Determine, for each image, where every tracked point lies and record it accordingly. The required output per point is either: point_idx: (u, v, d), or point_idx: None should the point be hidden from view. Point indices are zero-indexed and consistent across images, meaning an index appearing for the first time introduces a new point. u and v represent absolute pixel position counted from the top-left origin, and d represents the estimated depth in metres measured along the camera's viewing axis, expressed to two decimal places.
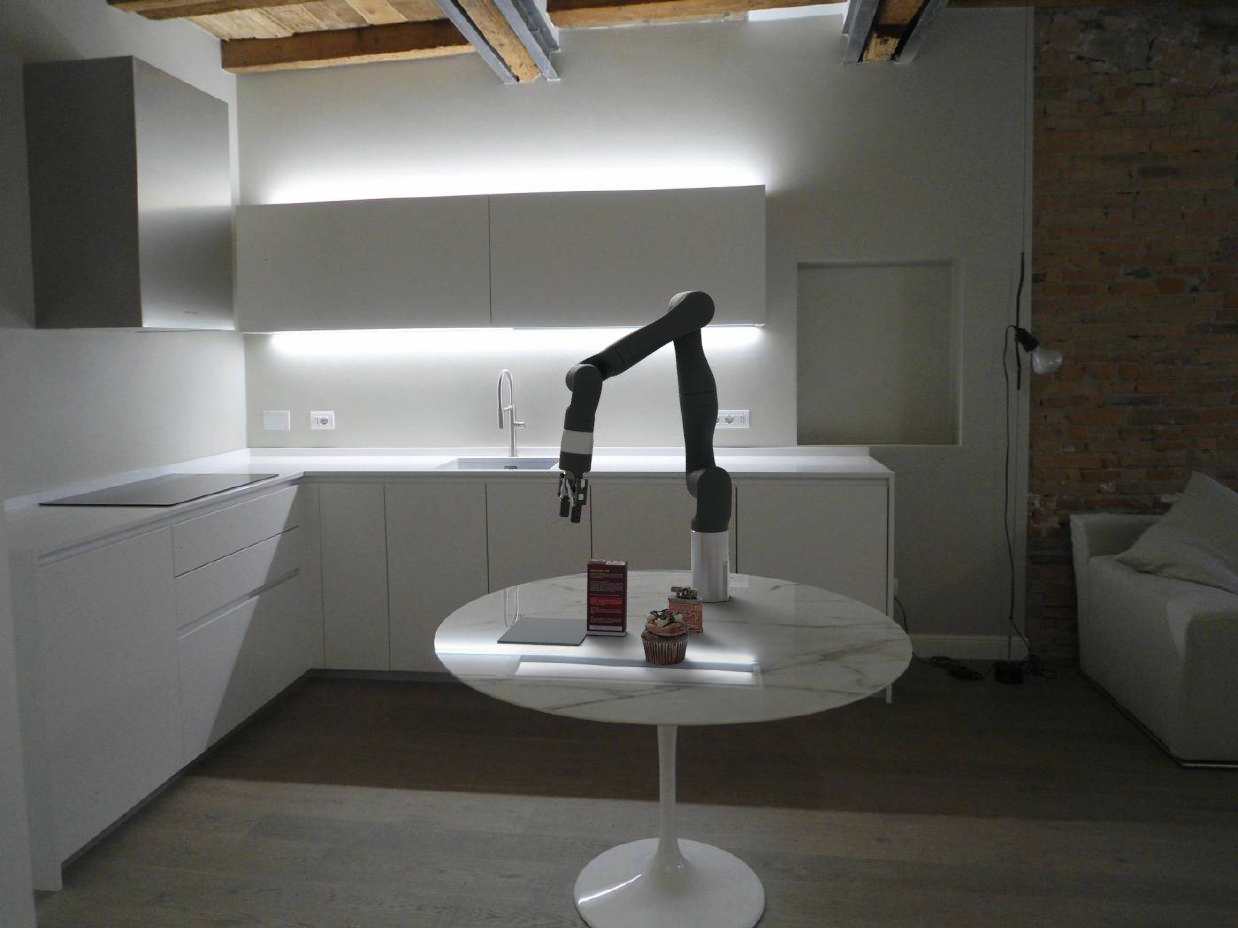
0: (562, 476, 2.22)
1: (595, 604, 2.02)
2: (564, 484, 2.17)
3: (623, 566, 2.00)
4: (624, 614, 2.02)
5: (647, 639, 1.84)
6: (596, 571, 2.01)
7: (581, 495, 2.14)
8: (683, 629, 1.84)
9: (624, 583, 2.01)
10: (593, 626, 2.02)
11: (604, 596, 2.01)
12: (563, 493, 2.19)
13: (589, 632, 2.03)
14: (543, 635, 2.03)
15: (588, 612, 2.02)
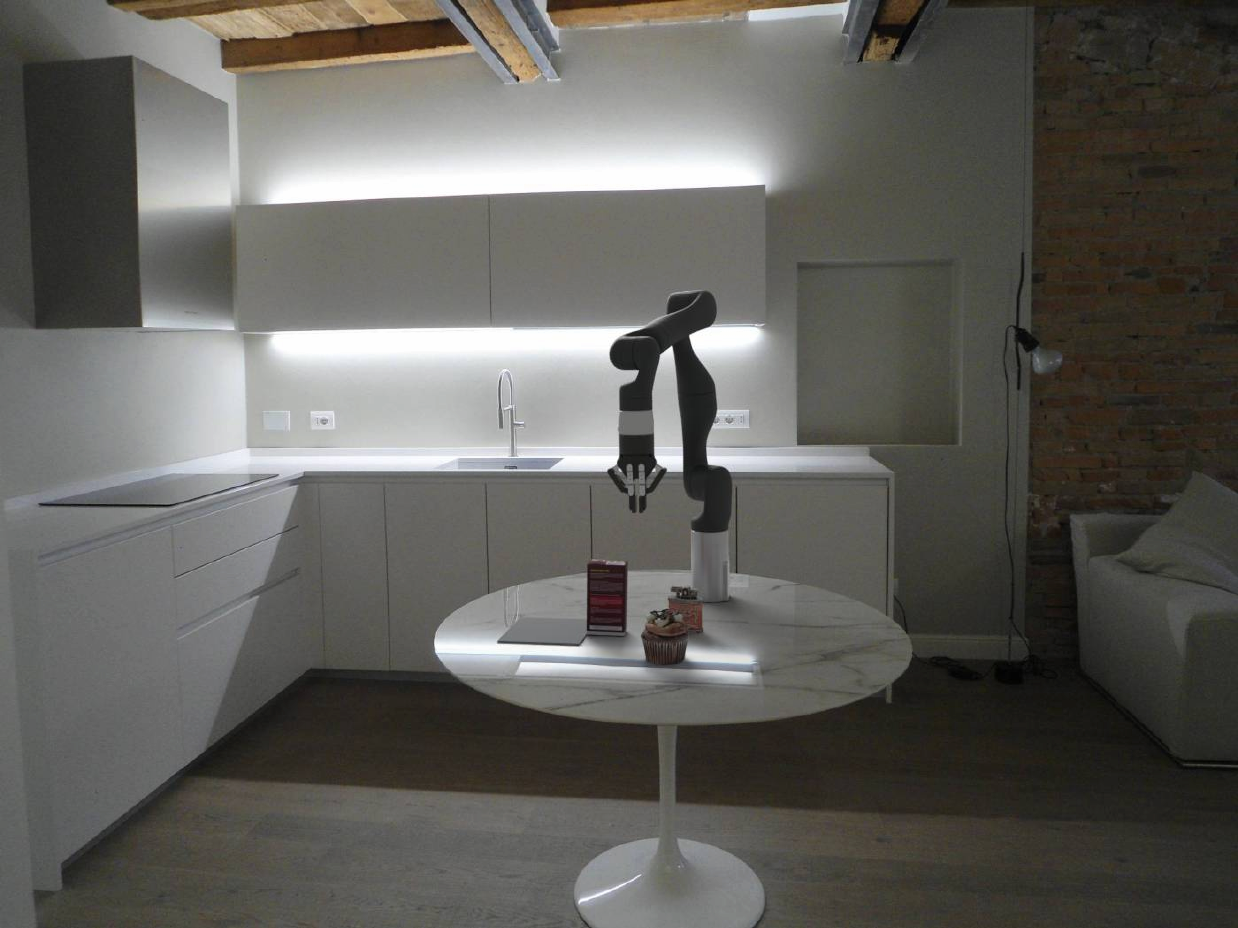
0: (613, 471, 1.99)
1: (595, 604, 2.02)
2: (632, 469, 1.98)
3: (623, 566, 2.00)
4: (624, 614, 2.02)
5: (647, 639, 1.84)
6: (596, 571, 2.01)
7: (646, 482, 2.00)
8: (683, 629, 1.84)
9: (624, 583, 2.01)
10: (593, 626, 2.02)
11: (604, 596, 2.01)
12: (633, 483, 1.98)
13: (589, 632, 2.03)
14: (543, 635, 2.03)
15: (588, 612, 2.02)
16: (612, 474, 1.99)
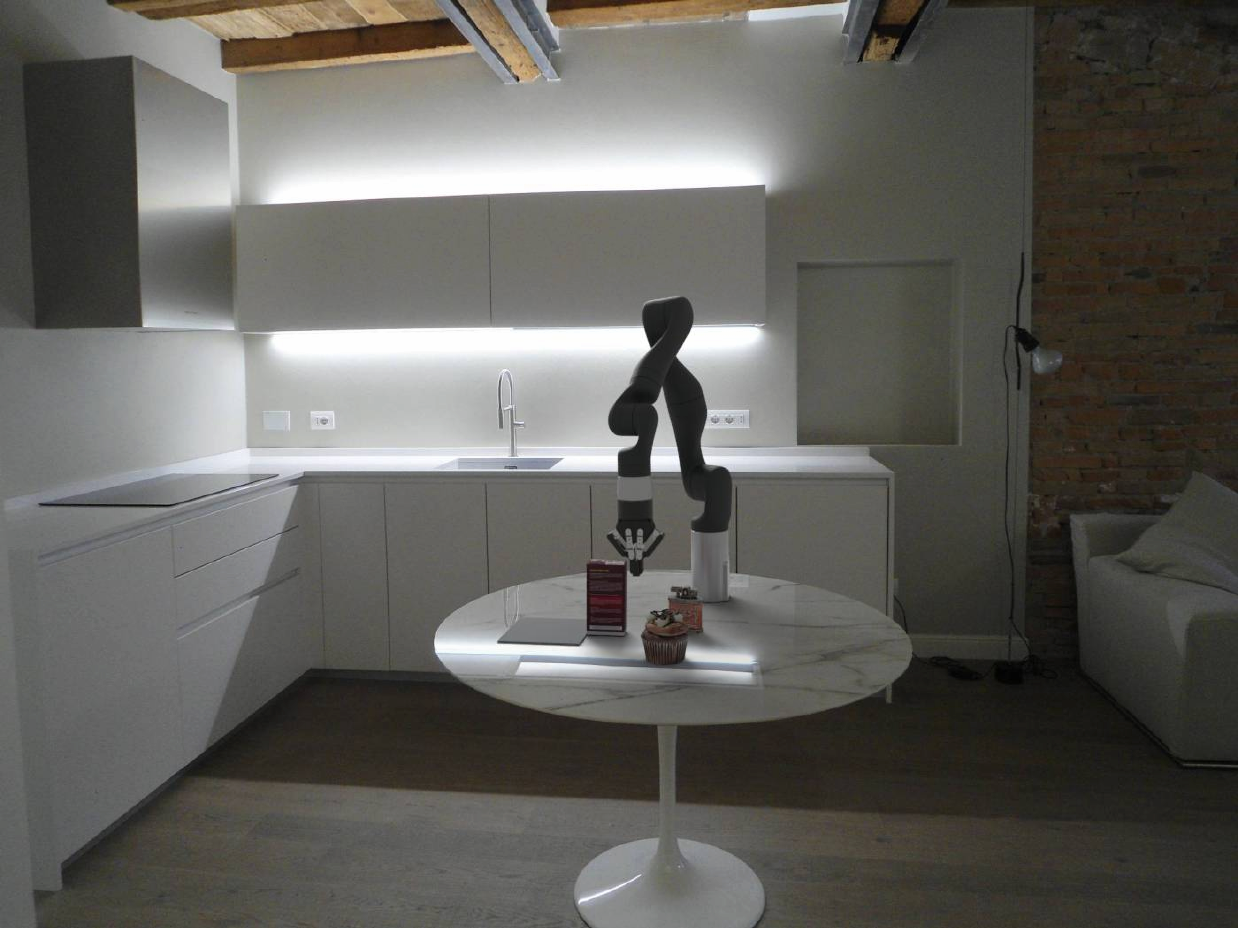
0: (612, 535, 2.01)
1: (595, 604, 2.02)
2: (631, 534, 1.99)
3: (622, 566, 2.00)
4: (624, 614, 2.02)
5: (647, 639, 1.84)
6: (595, 571, 2.01)
7: None
8: (683, 629, 1.84)
9: (624, 583, 2.01)
10: (592, 626, 2.02)
11: (604, 596, 2.01)
12: (633, 547, 2.00)
13: (589, 632, 2.03)
14: (543, 635, 2.03)
15: (588, 612, 2.02)
16: (612, 539, 2.01)
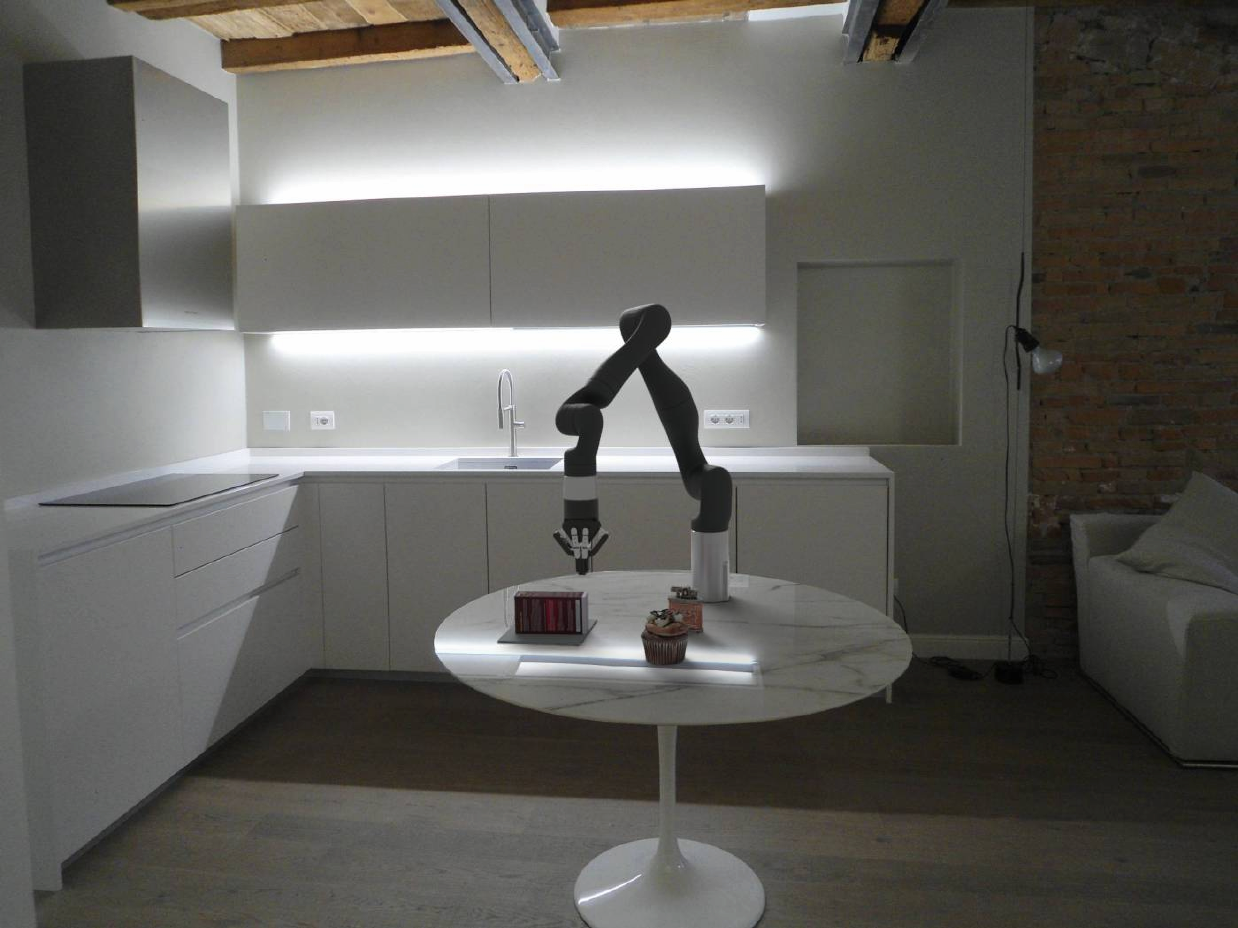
0: (558, 534, 2.03)
1: (555, 625, 2.03)
2: (577, 533, 2.01)
3: (515, 598, 2.03)
4: (563, 597, 2.02)
5: (647, 639, 1.84)
6: (522, 624, 2.04)
7: (590, 545, 2.04)
8: (683, 629, 1.84)
9: (532, 597, 2.03)
10: (577, 628, 2.03)
11: (546, 616, 2.03)
12: (579, 546, 2.02)
13: (583, 631, 2.03)
14: (543, 635, 2.03)
15: (563, 632, 2.03)
16: (558, 538, 2.03)
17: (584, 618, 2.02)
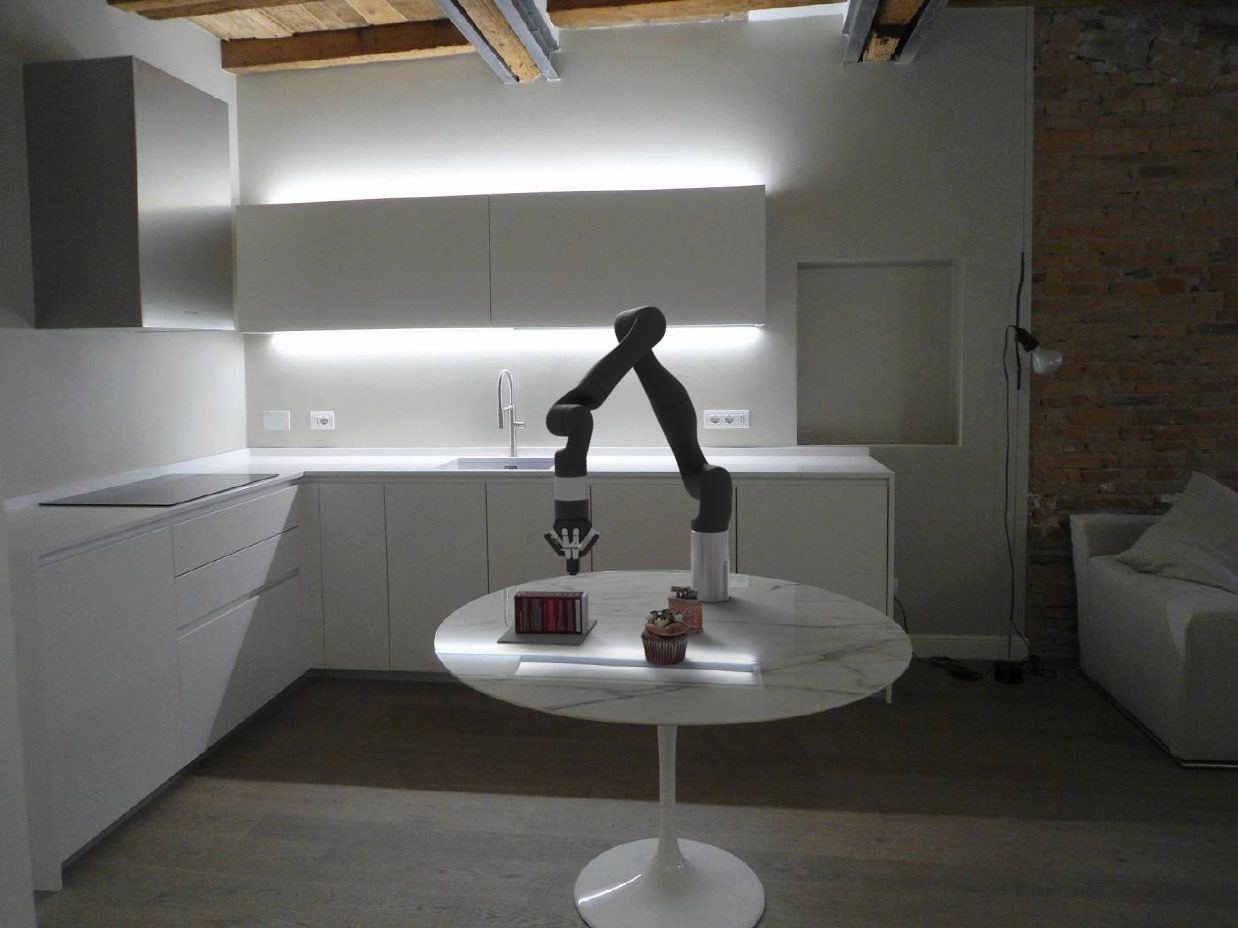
0: (549, 535, 2.03)
1: (555, 625, 2.03)
2: (567, 533, 2.02)
3: (515, 598, 2.04)
4: (563, 597, 2.02)
5: (647, 639, 1.84)
6: (522, 624, 2.04)
7: (580, 545, 2.04)
8: (683, 629, 1.84)
9: (532, 597, 2.03)
10: (577, 627, 2.03)
11: (546, 616, 2.03)
12: (569, 546, 2.03)
13: (583, 631, 2.03)
14: (543, 635, 2.03)
15: (563, 632, 2.03)
16: (549, 538, 2.03)
17: (584, 618, 2.02)
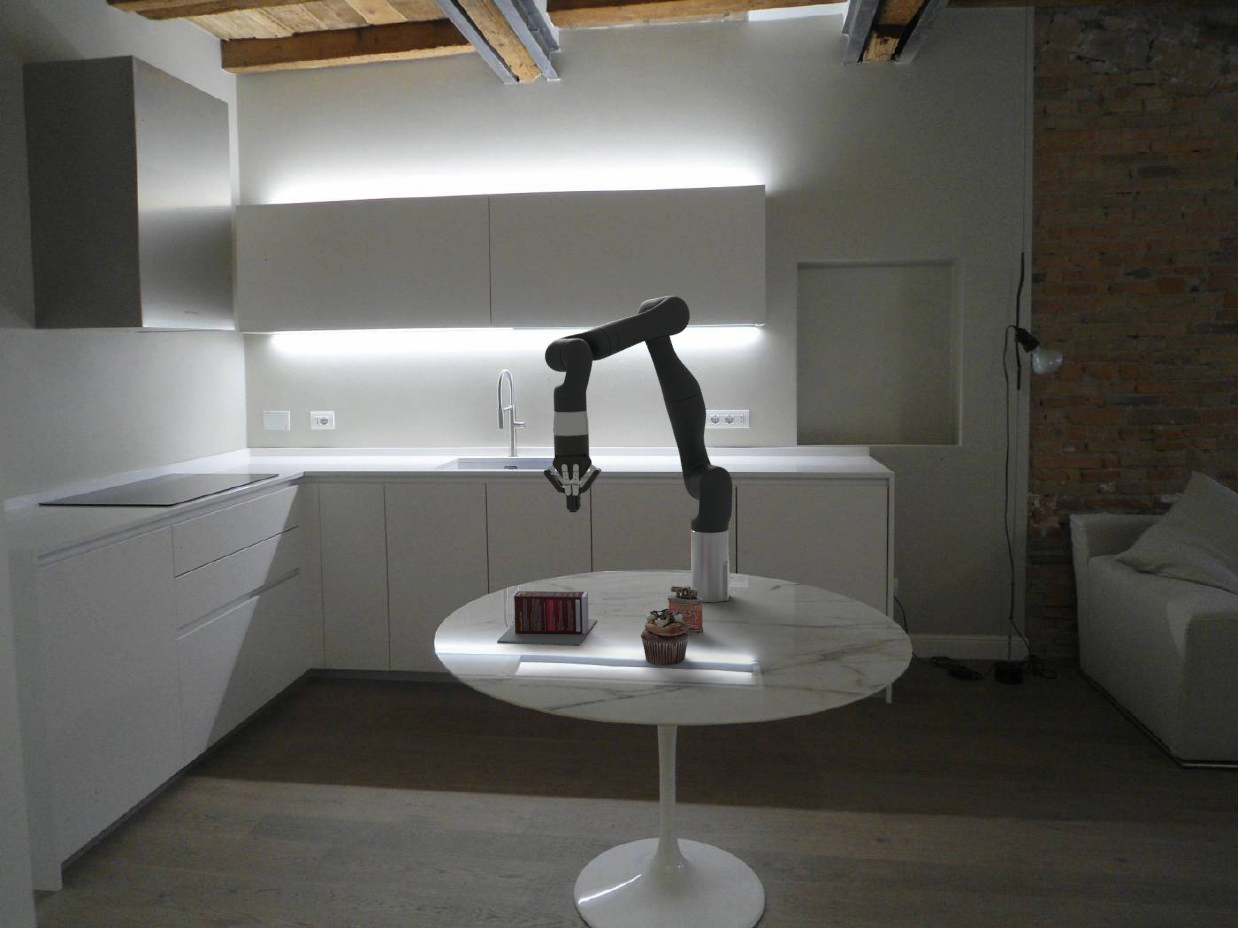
0: (549, 471, 2.02)
1: (555, 625, 2.03)
2: (567, 469, 2.01)
3: (515, 598, 2.04)
4: (563, 597, 2.02)
5: (647, 639, 1.84)
6: (522, 624, 2.04)
7: (580, 482, 2.03)
8: (683, 629, 1.84)
9: (532, 597, 2.03)
10: (577, 627, 2.03)
11: (546, 616, 2.03)
12: (569, 483, 2.01)
13: (583, 631, 2.03)
14: (543, 635, 2.03)
15: (563, 632, 2.03)
16: (548, 475, 2.02)
17: (584, 618, 2.02)
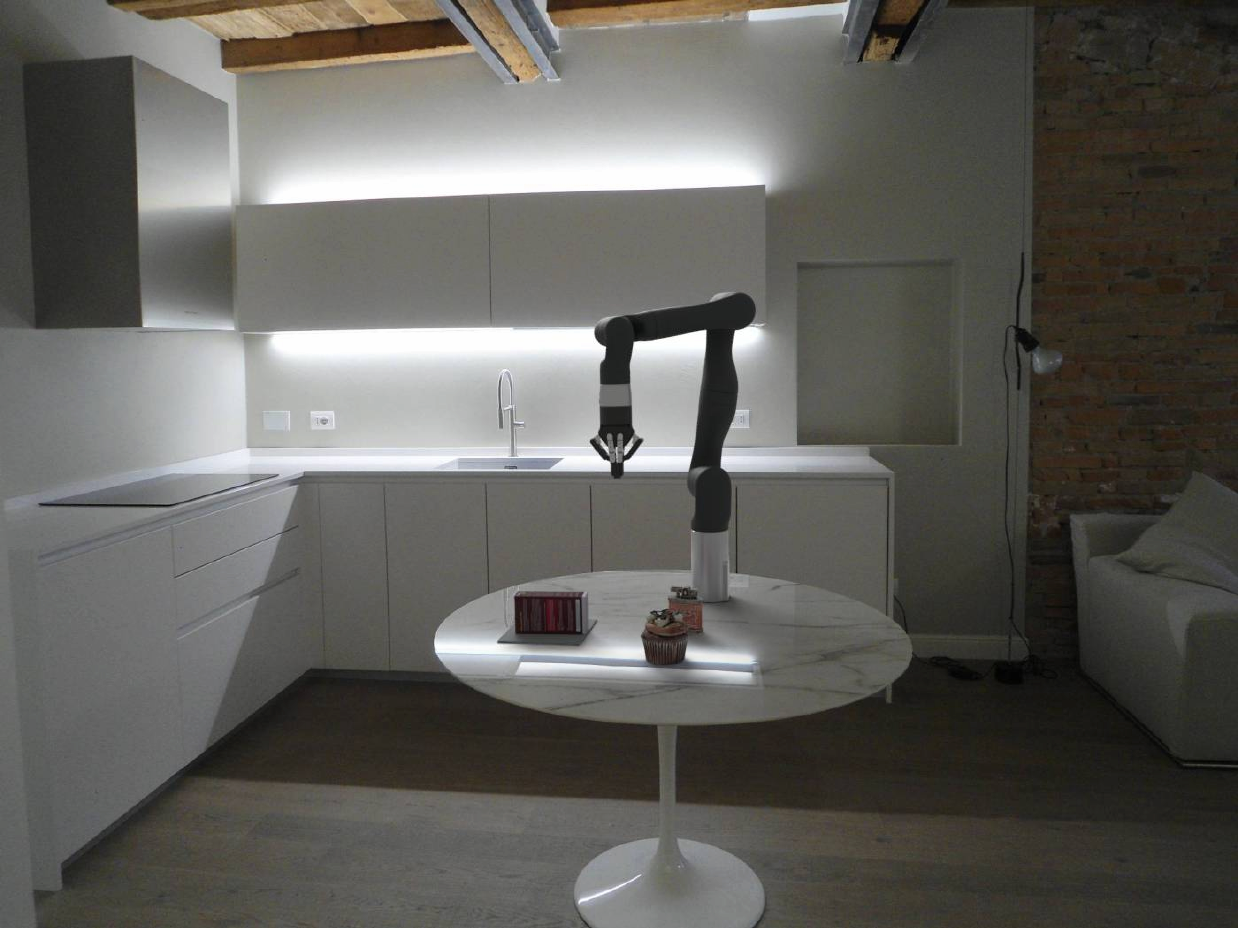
0: (595, 440, 2.16)
1: (555, 625, 2.03)
2: (612, 438, 2.15)
3: (515, 598, 2.04)
4: (563, 597, 2.02)
5: (647, 639, 1.84)
6: (522, 624, 2.04)
7: (624, 451, 2.17)
8: (683, 629, 1.84)
9: (532, 597, 2.03)
10: (577, 627, 2.03)
11: (546, 616, 2.03)
12: (614, 451, 2.16)
13: (583, 631, 2.03)
14: (543, 635, 2.03)
15: (563, 632, 2.03)
16: (594, 444, 2.16)
17: (584, 618, 2.02)
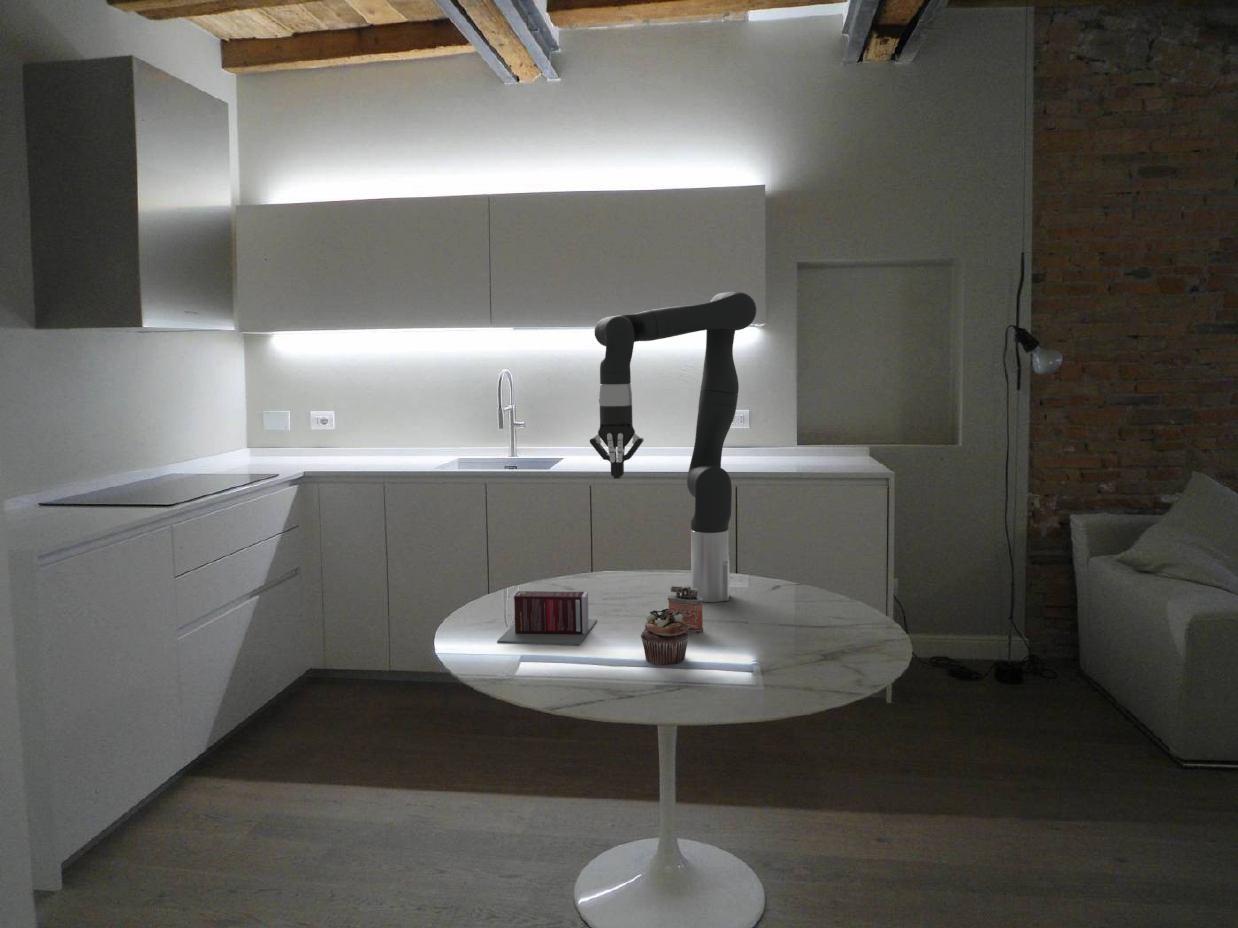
0: (595, 440, 2.16)
1: (555, 625, 2.03)
2: (612, 438, 2.15)
3: (515, 598, 2.04)
4: (563, 597, 2.02)
5: (647, 639, 1.84)
6: (522, 624, 2.04)
7: (624, 450, 2.17)
8: (683, 629, 1.84)
9: (532, 597, 2.03)
10: (577, 627, 2.03)
11: (546, 616, 2.03)
12: (614, 450, 2.16)
13: (583, 631, 2.03)
14: (543, 635, 2.03)
15: (563, 632, 2.03)
16: (594, 443, 2.16)
17: (584, 618, 2.02)
